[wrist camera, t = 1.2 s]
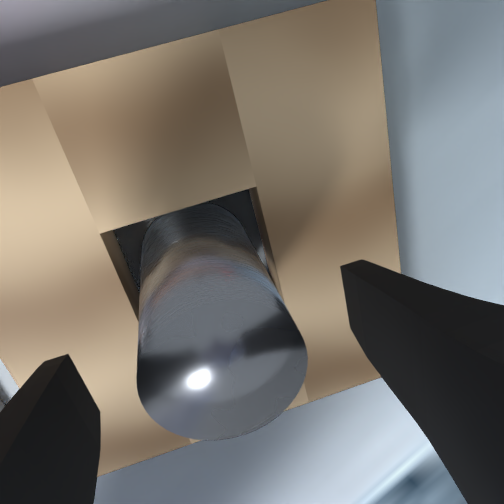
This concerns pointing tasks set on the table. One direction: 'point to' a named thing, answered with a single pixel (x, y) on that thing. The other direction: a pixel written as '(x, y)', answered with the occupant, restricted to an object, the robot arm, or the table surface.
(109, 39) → the table surface
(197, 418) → the steel cylinder
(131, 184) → the pocket block
